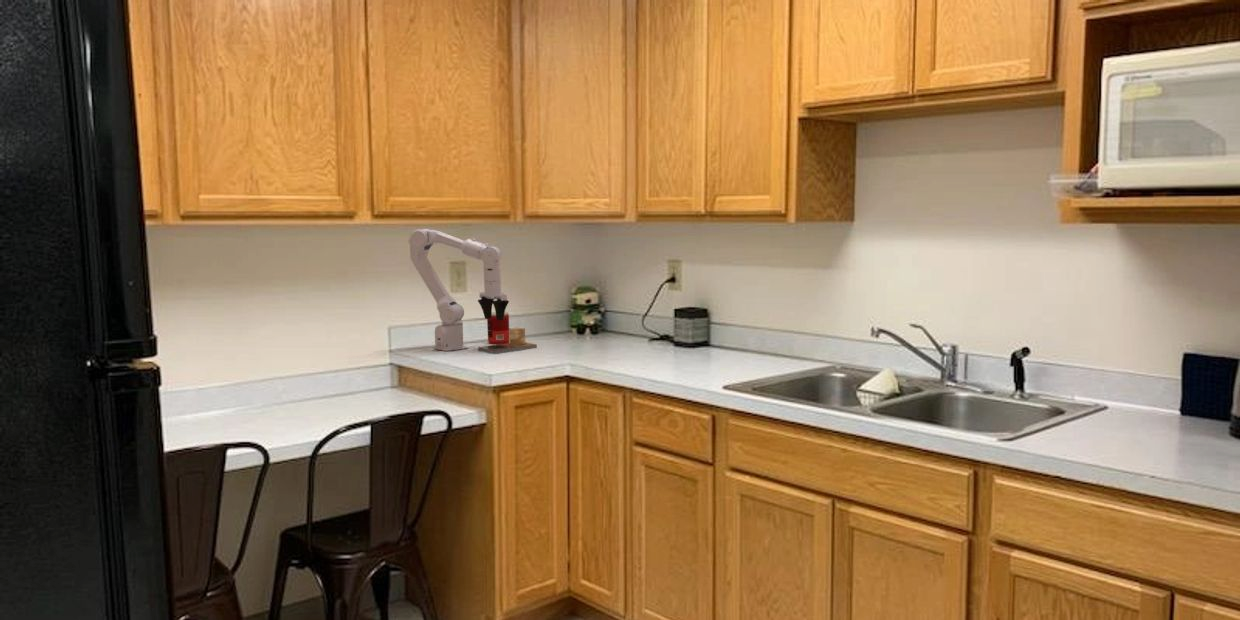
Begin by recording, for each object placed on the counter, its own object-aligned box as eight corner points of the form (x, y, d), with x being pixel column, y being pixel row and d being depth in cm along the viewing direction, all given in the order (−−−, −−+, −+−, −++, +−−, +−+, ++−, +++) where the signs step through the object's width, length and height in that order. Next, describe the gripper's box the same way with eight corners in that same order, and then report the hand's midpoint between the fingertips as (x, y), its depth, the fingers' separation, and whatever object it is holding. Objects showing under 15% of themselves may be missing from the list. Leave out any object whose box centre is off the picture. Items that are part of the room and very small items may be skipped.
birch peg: (516, 349, 319) (515, 329, 318) (509, 347, 322) (509, 328, 321) (525, 347, 322) (525, 328, 321) (519, 346, 325) (518, 327, 324)
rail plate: (493, 353, 309) (493, 350, 309) (478, 350, 317) (477, 346, 317) (536, 347, 321) (536, 344, 321) (520, 344, 329) (520, 341, 329)
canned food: (513, 341, 336) (512, 312, 334) (499, 344, 329) (499, 314, 328) (497, 340, 340) (496, 311, 338) (483, 343, 333) (482, 313, 332)
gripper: (513, 281, 314) (515, 320, 316) (490, 279, 325) (492, 316, 327) (496, 282, 310) (498, 322, 311) (473, 280, 321) (475, 318, 322)
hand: (493, 319), depth 319 cm, fingers open, 7 cm apart
